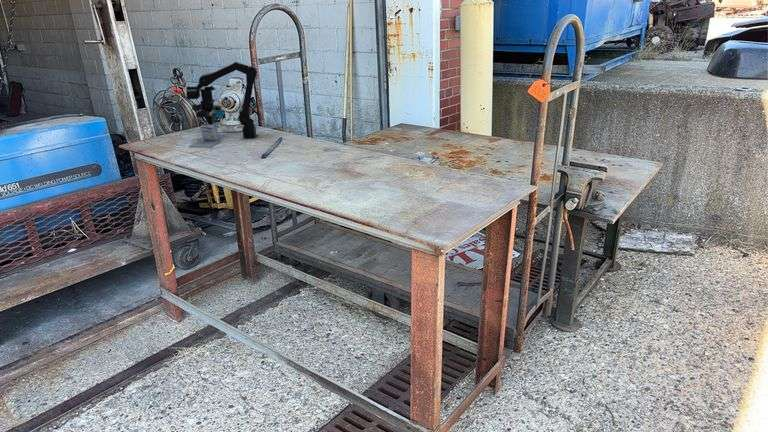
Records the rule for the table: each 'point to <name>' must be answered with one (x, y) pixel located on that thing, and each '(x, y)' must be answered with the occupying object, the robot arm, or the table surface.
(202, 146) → the slate mat
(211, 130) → the medicine box
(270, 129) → the table surface
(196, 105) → the robot arm
